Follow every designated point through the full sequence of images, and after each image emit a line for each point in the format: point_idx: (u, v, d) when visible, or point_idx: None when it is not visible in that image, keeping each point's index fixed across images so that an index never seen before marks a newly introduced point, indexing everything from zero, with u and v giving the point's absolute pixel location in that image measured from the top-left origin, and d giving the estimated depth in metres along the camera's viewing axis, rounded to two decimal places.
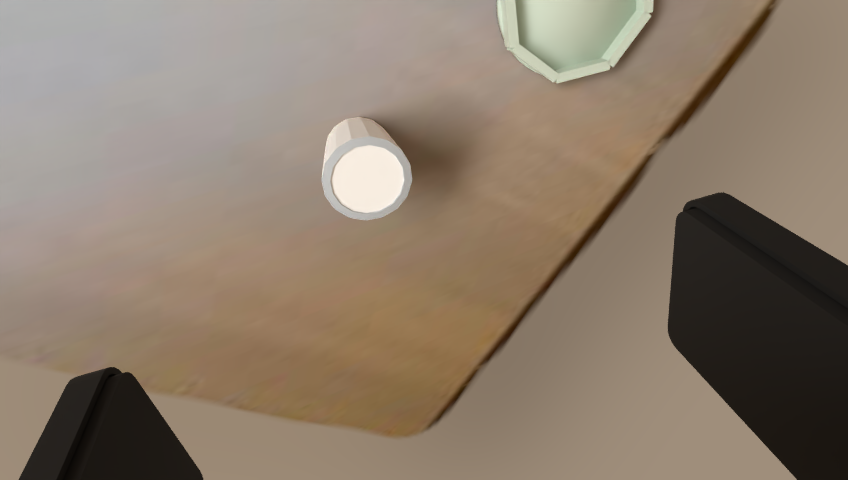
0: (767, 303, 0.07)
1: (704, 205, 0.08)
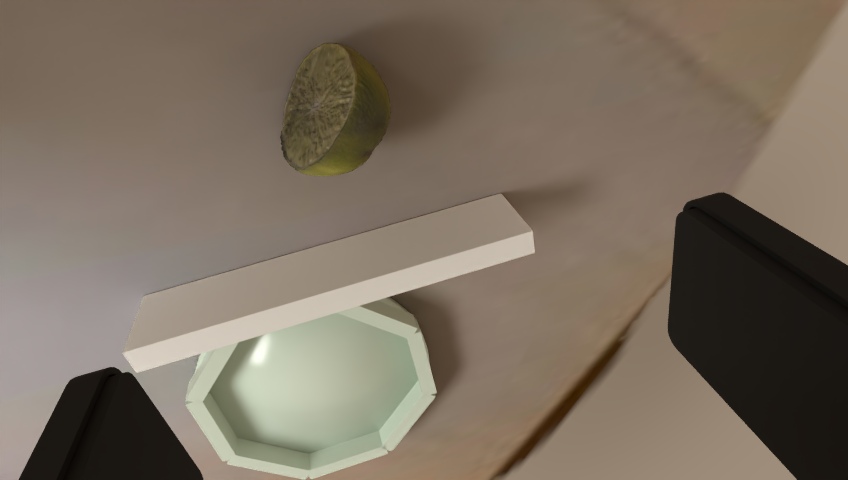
0: (767, 303, 0.07)
1: (704, 205, 0.08)
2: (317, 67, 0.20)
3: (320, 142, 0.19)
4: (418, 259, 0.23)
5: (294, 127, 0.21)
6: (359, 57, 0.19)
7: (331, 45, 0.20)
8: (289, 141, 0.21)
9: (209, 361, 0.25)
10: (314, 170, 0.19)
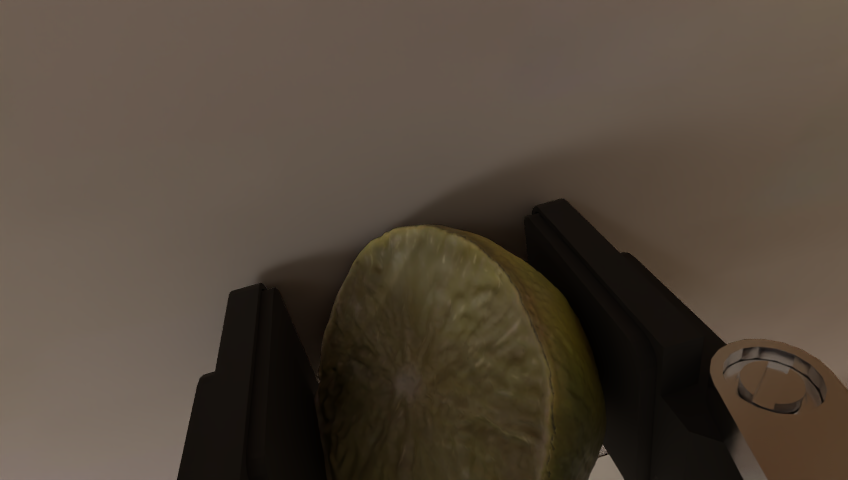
0: (575, 299, 0.08)
1: (542, 210, 0.09)
2: (409, 278, 0.08)
3: None
4: None
5: (349, 411, 0.09)
6: (541, 289, 0.07)
7: (453, 239, 0.07)
8: (336, 446, 0.09)
9: None
10: None
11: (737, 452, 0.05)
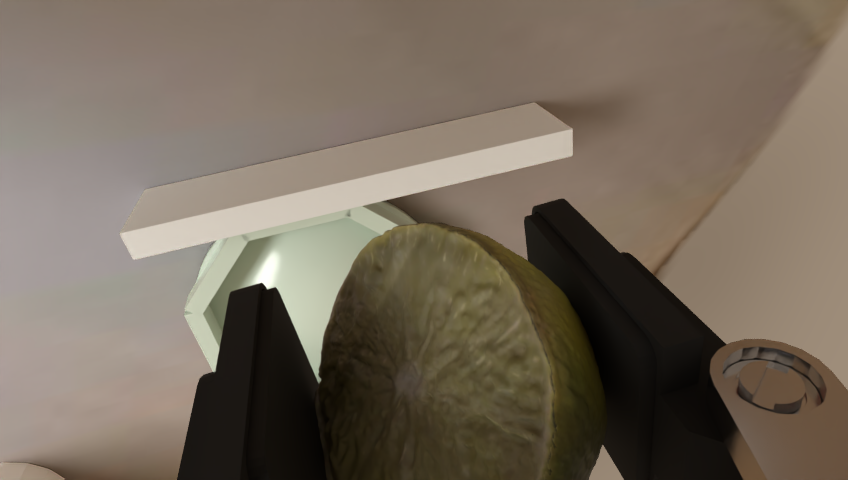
0: (575, 299, 0.08)
1: (542, 210, 0.09)
2: (409, 276, 0.08)
3: None
4: (447, 153, 0.21)
5: (349, 409, 0.09)
6: (542, 287, 0.07)
7: (454, 237, 0.07)
8: (337, 445, 0.09)
9: (212, 265, 0.23)
10: None
11: (737, 452, 0.05)
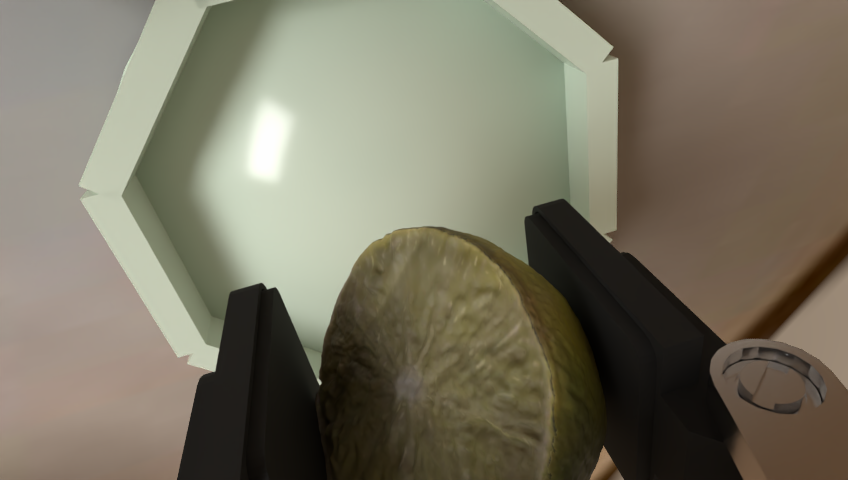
0: (575, 299, 0.08)
1: (542, 210, 0.09)
2: (410, 280, 0.08)
3: None
4: None
5: (350, 412, 0.09)
6: (542, 291, 0.07)
7: (454, 241, 0.07)
8: (337, 447, 0.09)
9: (129, 72, 0.10)
10: None
11: (737, 451, 0.05)
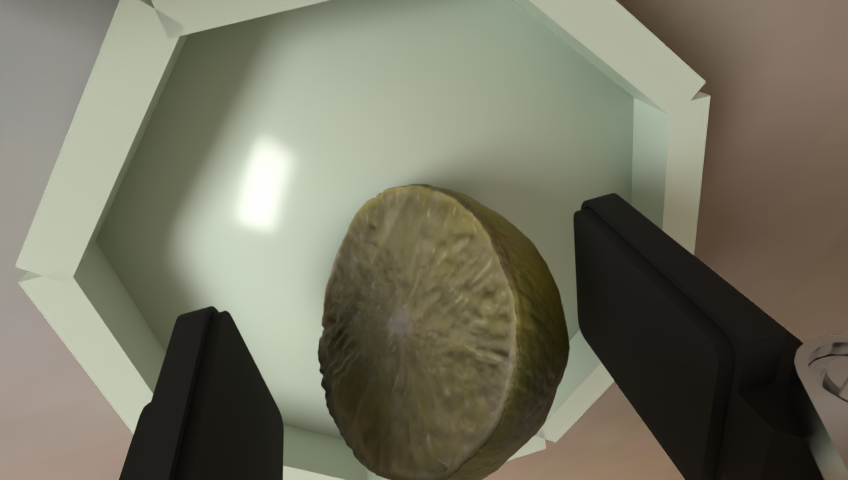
0: (636, 295, 0.08)
1: (594, 205, 0.09)
2: (399, 232, 0.09)
3: (420, 432, 0.08)
4: None
5: (349, 350, 0.10)
6: (511, 236, 0.08)
7: (436, 195, 0.09)
8: (338, 381, 0.10)
9: (76, 122, 0.08)
10: None
11: None
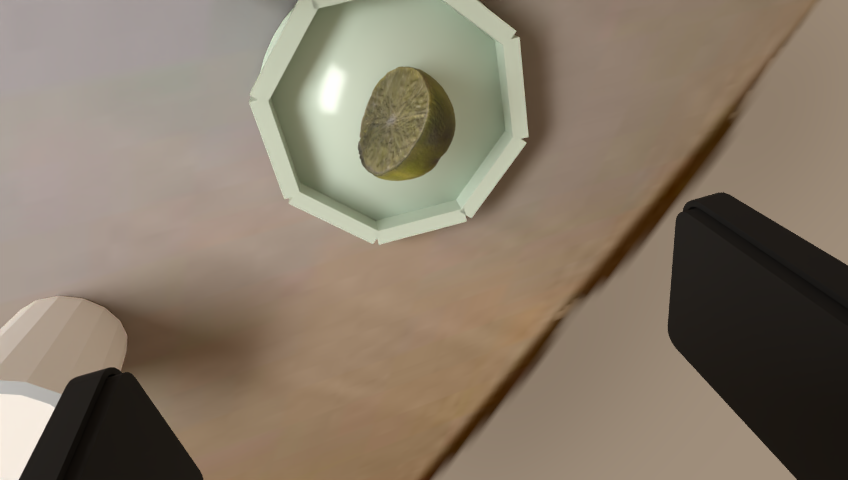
0: (767, 303, 0.07)
1: (704, 205, 0.08)
2: (392, 87, 0.23)
3: (397, 151, 0.22)
4: None
5: (371, 139, 0.24)
6: (431, 78, 0.22)
7: (405, 68, 0.23)
8: (367, 150, 0.24)
9: (280, 38, 0.22)
10: (391, 175, 0.23)
11: None
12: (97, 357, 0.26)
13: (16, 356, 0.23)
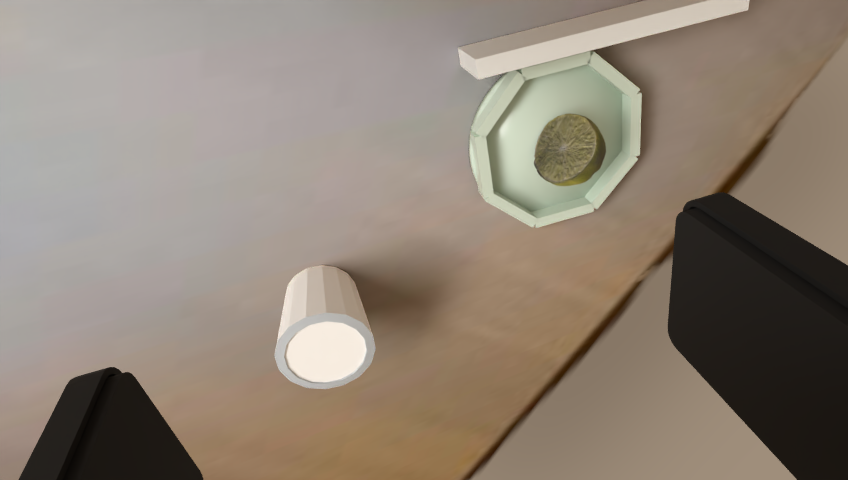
0: (767, 303, 0.07)
1: (704, 205, 0.08)
2: (562, 126, 0.37)
3: (572, 168, 0.36)
4: (669, 8, 0.33)
5: (546, 159, 0.37)
6: None
7: (573, 115, 0.36)
8: (544, 167, 0.37)
9: (500, 98, 0.35)
10: (566, 183, 0.36)
11: None
12: (360, 304, 0.39)
13: (329, 300, 0.36)
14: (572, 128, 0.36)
